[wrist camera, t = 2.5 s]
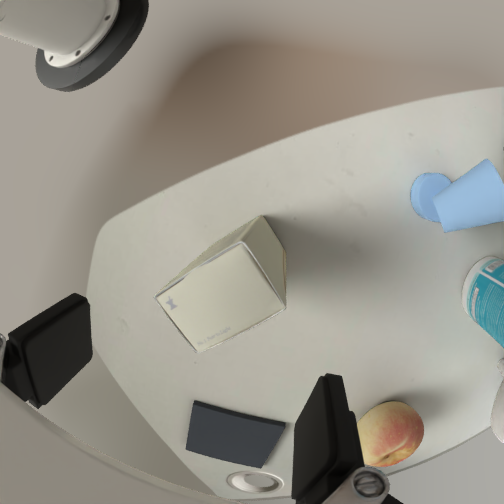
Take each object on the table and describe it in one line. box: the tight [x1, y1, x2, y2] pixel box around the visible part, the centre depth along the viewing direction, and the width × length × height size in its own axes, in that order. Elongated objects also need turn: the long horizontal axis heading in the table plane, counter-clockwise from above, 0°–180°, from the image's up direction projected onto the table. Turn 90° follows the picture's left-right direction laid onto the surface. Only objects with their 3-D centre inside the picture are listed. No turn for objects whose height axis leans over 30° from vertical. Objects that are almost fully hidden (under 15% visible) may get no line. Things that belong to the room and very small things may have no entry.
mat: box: [186, 401, 285, 468], centre depth 33 cm, size 12×12×1 cm
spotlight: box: [411, 159, 504, 233], centre depth 18 cm, size 5×10×7 cm
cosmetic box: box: [154, 215, 286, 353], centre depth 20 cm, size 6×4×12 cm
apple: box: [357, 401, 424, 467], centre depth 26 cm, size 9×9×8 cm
